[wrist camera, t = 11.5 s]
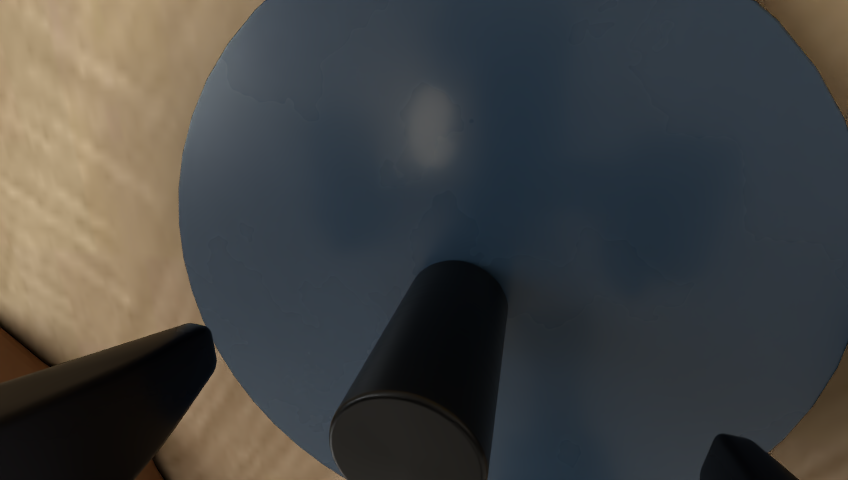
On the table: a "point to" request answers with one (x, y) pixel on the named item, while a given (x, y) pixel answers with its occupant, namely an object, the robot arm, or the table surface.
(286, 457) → the table surface
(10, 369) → the plant
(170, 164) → the table surface
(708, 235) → the pot lid
